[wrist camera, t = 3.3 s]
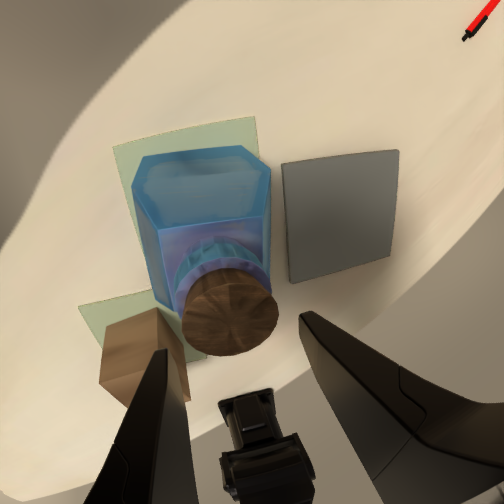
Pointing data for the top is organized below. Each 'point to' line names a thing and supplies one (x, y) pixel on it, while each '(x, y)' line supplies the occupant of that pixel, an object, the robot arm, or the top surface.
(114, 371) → the walnut block
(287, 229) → the slate coaster
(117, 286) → the top surface
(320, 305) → the top surface
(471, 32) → the pen
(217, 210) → the perfume bottle
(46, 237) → the top surface
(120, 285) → the top surface
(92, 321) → the code mat
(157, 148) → the code mat
